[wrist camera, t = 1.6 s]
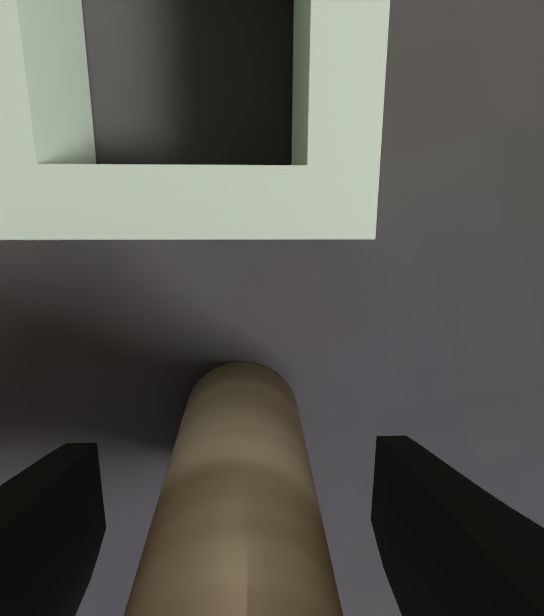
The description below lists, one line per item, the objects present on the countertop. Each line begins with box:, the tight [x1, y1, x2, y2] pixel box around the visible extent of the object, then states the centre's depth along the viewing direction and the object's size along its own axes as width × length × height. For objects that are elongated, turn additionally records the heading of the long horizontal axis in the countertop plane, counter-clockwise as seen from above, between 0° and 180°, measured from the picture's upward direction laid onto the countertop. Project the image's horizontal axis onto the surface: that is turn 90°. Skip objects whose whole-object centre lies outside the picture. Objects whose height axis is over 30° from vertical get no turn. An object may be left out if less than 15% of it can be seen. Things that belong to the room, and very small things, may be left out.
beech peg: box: [124, 362, 343, 616], centre depth 8 cm, size 3×3×9 cm
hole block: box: [0, 0, 390, 240], centre depth 8 cm, size 7×7×3 cm
